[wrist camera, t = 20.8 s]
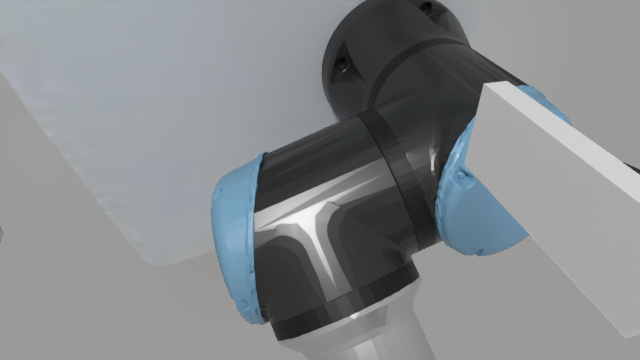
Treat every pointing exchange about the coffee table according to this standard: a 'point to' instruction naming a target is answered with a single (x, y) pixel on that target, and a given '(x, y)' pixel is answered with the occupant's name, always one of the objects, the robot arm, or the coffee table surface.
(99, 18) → the coffee table surface
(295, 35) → the coffee table surface
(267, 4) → the coffee table surface
